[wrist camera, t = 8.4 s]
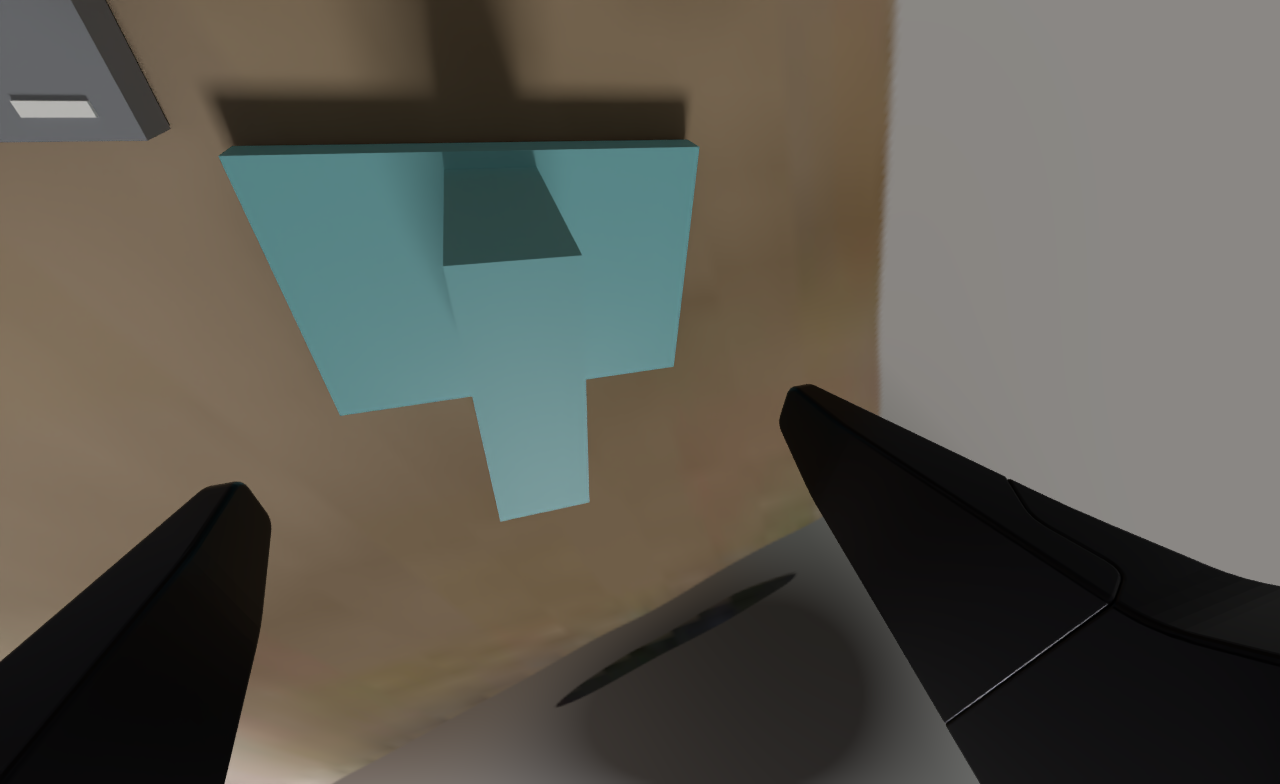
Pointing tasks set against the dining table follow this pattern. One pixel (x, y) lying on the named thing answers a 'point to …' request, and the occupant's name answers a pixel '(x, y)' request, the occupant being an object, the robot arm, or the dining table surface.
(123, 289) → the dining table surface
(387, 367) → the stub
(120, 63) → the plate
